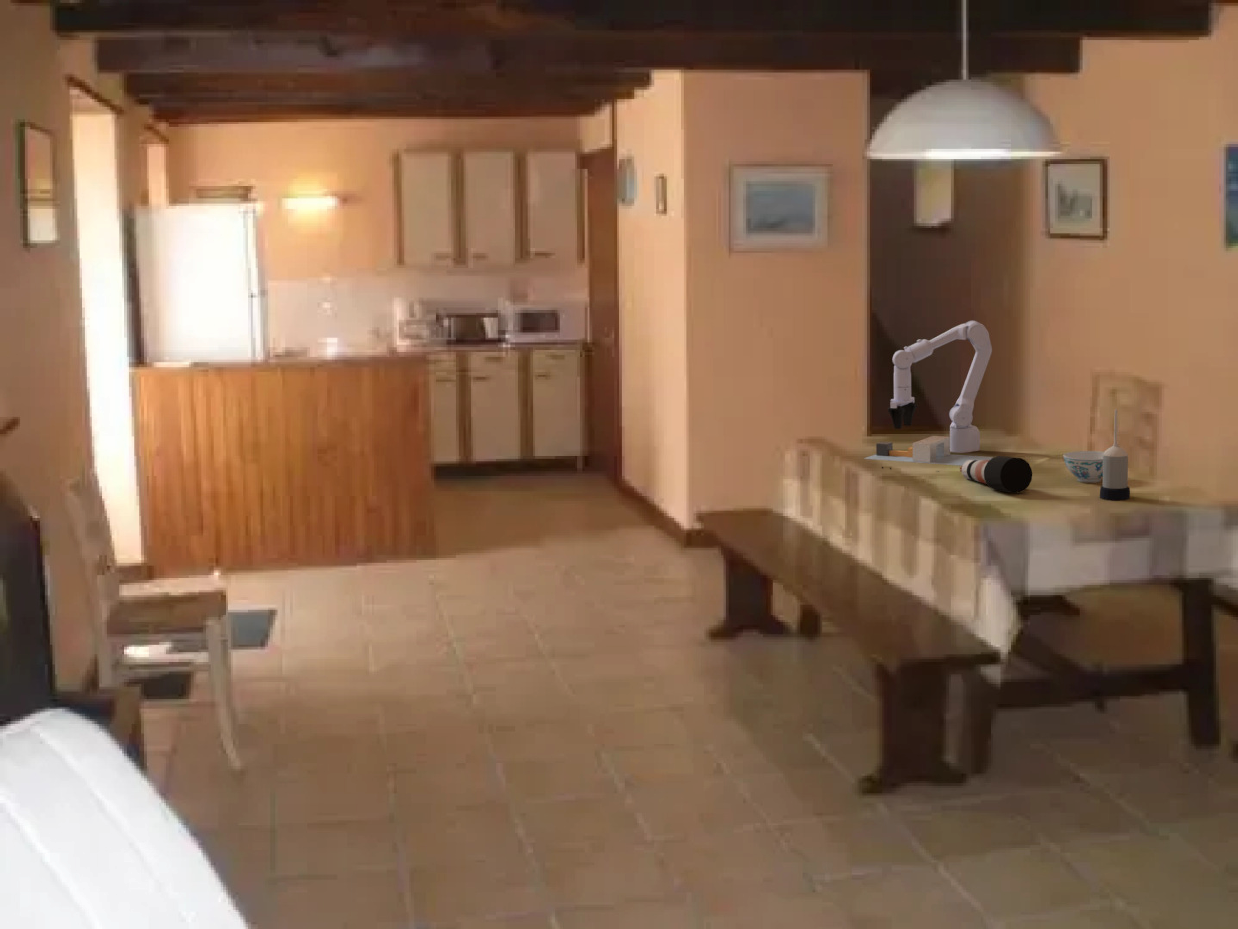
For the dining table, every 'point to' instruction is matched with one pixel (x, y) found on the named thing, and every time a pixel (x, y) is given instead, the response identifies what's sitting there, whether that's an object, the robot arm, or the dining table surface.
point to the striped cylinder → (999, 473)
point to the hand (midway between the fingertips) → (902, 426)
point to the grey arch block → (931, 449)
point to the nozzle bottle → (1115, 471)
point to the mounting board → (939, 460)
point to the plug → (891, 450)
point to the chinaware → (1085, 465)
